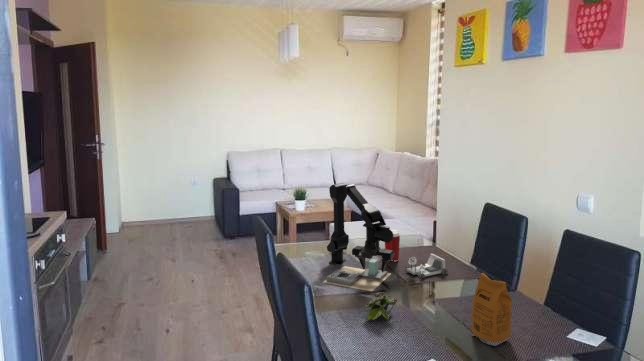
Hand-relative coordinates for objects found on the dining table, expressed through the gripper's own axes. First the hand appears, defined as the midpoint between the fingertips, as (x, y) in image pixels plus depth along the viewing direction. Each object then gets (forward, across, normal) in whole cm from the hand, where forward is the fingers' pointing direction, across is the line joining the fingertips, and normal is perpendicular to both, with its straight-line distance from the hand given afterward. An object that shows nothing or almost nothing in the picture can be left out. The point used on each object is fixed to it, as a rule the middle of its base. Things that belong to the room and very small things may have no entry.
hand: (373, 270), depth 233 cm
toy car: (+4, +19, +14) cm, 24 cm away
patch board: (+3, -6, -6) cm, 8 cm away
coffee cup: (+3, 0, +23) cm, 23 cm away
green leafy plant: (+3, +19, -36) cm, 41 cm away
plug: (+2, 0, 0) cm, 2 cm away
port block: (+3, -10, -10) cm, 14 cm away
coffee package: (+3, +58, -35) cm, 68 cm away
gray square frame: (+3, 0, 0) cm, 3 cm away
